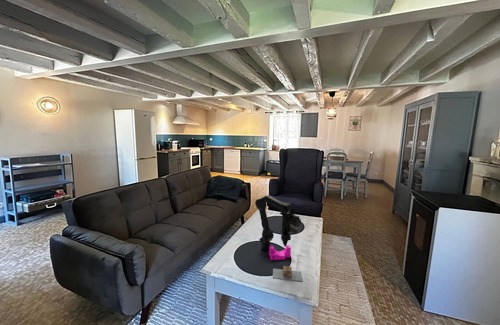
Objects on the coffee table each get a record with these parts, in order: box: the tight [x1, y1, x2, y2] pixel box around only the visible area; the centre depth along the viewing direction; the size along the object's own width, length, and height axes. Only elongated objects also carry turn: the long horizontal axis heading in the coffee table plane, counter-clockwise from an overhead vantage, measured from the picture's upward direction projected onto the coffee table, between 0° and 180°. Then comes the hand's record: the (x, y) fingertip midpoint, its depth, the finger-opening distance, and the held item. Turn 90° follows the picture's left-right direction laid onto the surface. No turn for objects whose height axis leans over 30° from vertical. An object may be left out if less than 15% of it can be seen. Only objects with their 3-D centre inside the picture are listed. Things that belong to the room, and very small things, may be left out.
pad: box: [272, 268, 304, 283], centre depth 130 cm, size 18×9×1 cm, turn 82°
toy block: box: [268, 244, 292, 261], centre depth 149 cm, size 15×6×8 cm, turn 96°
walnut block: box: [282, 265, 293, 278], centre depth 129 cm, size 5×5×4 cm
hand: (285, 243), depth 143 cm, fingers open, 9 cm apart
